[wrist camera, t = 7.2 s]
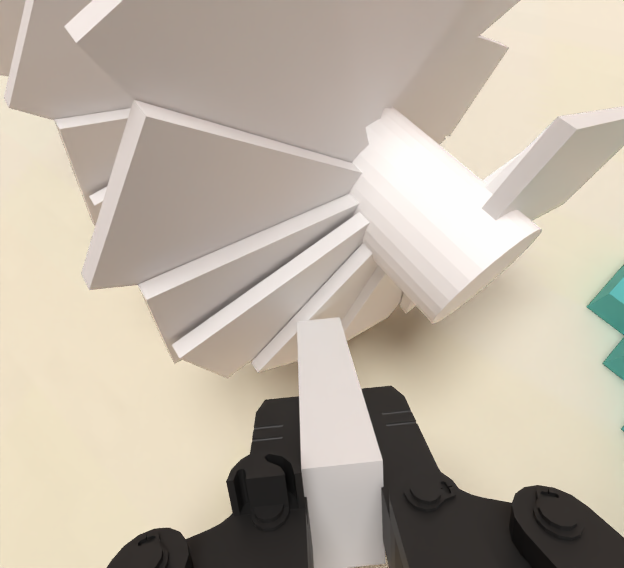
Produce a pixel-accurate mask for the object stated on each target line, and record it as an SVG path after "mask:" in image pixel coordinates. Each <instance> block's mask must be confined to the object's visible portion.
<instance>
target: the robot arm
mask: <svg viewBox="0 0 624 568" xmlns="http://www.w3.org/2000/svg"><path fill="white" fill-rule="evenodd" d="M297 342H298V376H299V396H298V397H289V398H279V399H269V400H265V401H264V402H263V404H262V405H261V407H260V408H259V409H258V411H257V412H256V417H255V424H254V431H253V438H252V445H251V452H250V455H248V456H246V457H245V458H243V459H241V460H240V461H239V462H238V463H237V464H236V465H235V466H234V467H233V468H232V470H231V472H230V474H229V476H228V479H227V481H226V482H227V487H228V492H229V497H230V502H231V507H232V512H233V513H232V514H231V516H230V517H228V518H227V519H226V520H225V521H223V522H222V523H221V524H219V525H217V526H215V527H213V528H211V529H209V530H207V531H205V532H202V533H200V534H197V535H195V536H193V537H190V538H188V539H185V538H184V537H183V535H182V534H181V532H179V531H176V530H174V529H171V528H157V529H153V530H150V531H148V532H145V533H143V534H140V535H138V536H137V537H136V538H134V539H133V540H132V541H130V542H129V543H127V544H126V545H125V546H124V547H123V548H122V549H121V550H120V551H119V552H118V554H117V555H116V556H115V557H114V558H113V559H112V561H111V562H110V564H109V565H108V567H107V568H349V567H350V568H351V567H360V566H369V565H377V564H386V562H385V552H386V556H387V560H388V564H389V568H624V538H623V537H622V536H621V535H620V534H619V533H618V532H617V531H615V530H614V529H613V528H612V527H611V526H610V525H609V524H607V523H606V522H605V521H604V520H603V519H602V518H600V517H599V516H598V515H597V514H596V513H595V512H594V511H592V510H591V509H590V508H589V507H588V506H586V505H585V504H584V503H582V502H581V501H579V500H578V499H576V498H575V497H573V496H572V495H570V494H568V493H565V492H563V491H561V490H558V489H556V488H552V487H546V486H540V485H536V486H529V487H524V488H523V489H521V490H520V491H518V492H517V493H516V494H515V496H514V499H513V502H512V503H509V502H504V501H498V500H493V499H487V498H482V497H478V496H475V495H471V494H469V493H467V492H464V491H462V490H460V489H459V488H458V487H457V486H456V484H455V483H454V482H453V480H451V479H450V478H449V477H447V476H446V475H444V474H443V473H441V472H440V470H439V468H438V467H437V464H436V462H435V460H434V458H433V456H432V454H431V452H430V450H429V448H428V445H427V443H426V441H425V439H424V437H423V435H422V433H421V431H420V429H419V426H418V424H416V420H415V418H414V416H413V414H412V412H411V410H410V408H409V405H408V403H407V401H406V399H405V397H404V396H403V395H402V394H401V393H400V392H398V391H397V390H396V389H395V388H394V387H392V386H384V387H374V388H364V389H361V387H360V383H359V380H358V377H357V373H356V370H355V367H354V363H353V360H352V357H351V353H350V350H349V347H348V343H347V340H346V337H345V334H344V330H343V327H342V324H341V320H340V317H337V318H327V319H317V320H309V321H297Z"/></svg>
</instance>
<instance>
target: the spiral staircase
mask: <svg viewBox="0 0 624 568" xmlns="http://www.w3.org/2000/svg"><path fill="white" fill-rule="evenodd" d="M519 1H520V0H0V75H3V76H9V77H8V82H7V86H6V91H5V95H4V99H5V101H6V103H7V105H8V107H9V108H11V109H15V110H19V111H22V112H26V113H30V114H33V115H37V116H40V117H44V118H48V119H51V120H54V121H55V123H56V126H57V129H58V131H59V134H60V137H61V140H62V142H63V145H64V148H65V150H66V153H67V156H68V158H69V161H70V164H71V166H72V169H73V172H74V174H75V177H76V180H77V182H78V185H79V188H80V191H81V193H82V196H83V199H84V201H85V204H86V207H87V209H88V212H89V215H90V217H91V220H92V222H93V224H94V225H95V229H94V232H93V236H92V239H91V242H90V246H89V249H88V252H87V256H86V259H85V262H84V266H83V269H82V272H81V274H82V276H83V278H84V280H85V283H86V285H87V287H88V289H89V290H93V289H103V288H112V287H122V286H131V285H138V287H139V289H140V291H141V293H142V295H143V298H144V300H145V302H146V304H147V306H148V309H149V311H150V313H151V315H152V317H153V320H154V322H155V324H156V326H157V329H158V331H159V333H160V335H161V337H162V340H163V342H164V344H165V346H166V348H167V351H168V353H169V354H170V356H171V358H172V360H173V362H174V363H177V362H179V361H181V360H184V361H187V362H189V363H192V364H194V365H196V366H199V367H201V368H204V369H206V370H209V371H211V372H213V373H216V374H218V375H221V376H223V377H226V378H229V377H230V376H232V375H233V374H234V373H236V372H237V371H238V370H240V369H241V368H242V367H244V366H245V365H246V364H248V363H249V362H250V361H252V360H253V359H254V360H253V361H252V362H251V363H252V365H253V366H254V368H255V369H256V371H257V372H258V373H259V372H262V371H266V370H269V369H273V368H276V367H280V366H284V365H287V364H291V363H294V362H298V342H297V321H309V320H317V319H327V318H337V317H340V320H341V324H342V327H343V330H344V334H345V337H346V340H347V341H348V340H350V339H352V338H353V337H355V336H357V335H359V334H360V333H362V332H364V331H365V330H367V329H369V328H371V327H372V326H374V325H376V324H377V323H379V322H381V321H383V320H384V319H386V318H388V317H389V316H390V314H391V313H392V312H393V311H394V309H395V308H396V307H397V306H398V305H399V303H400V302H401V303H400V307H401V308H402V310H403V311H404V312H405V313H408V312H409V311H410V310H411V309H413V308H414V307H415V306H416V307H417V308H418V309H419V310H420V311H421V312H422V313H423V314H424V315H425V316H426V317H427V318H428V320H429V321H430V322H431V323H432V324H435V323H437V322H439V321H441V320H443V319H444V318H446V317H447V316H449V315H450V314H451V313H453V312H454V311H456V310H457V309H458V308H460V307H461V306H462V305H463V304H465V303H466V302H467V301H469V300H470V299H471V298H472V297H474V296H475V295H476V294H477V293H479V292H480V291H481V290H482V289H483V288H485V287H486V286H487V285H488V284H489V283H490V282H492V281H493V280H494V279H495V278H496V277H497V276H498V275H500V274H501V273H502V272H503V271H504V270H505V269H506V268H507V267H508V266H509V265H511V264H512V263H513V262H514V261H515V260H516V259H517V258H518V257H519V256H520V255H521V254H522V253H523V252H524V251H525V250H526V249H527V248H528V247H529V246H530V245H531V244H532V243H533V242H534V241H535V239H536V238H537V237H538V236H539V235H540V233H541V231H542V229H541V228H540V227H539V226H537V225H536V224H535V223H534V222H532V221H533V220H534V219H536V218H538V217H540V216H542V215H544V214H546V213H548V212H550V211H551V210H553V209H555V208H557V207H559V206H561V205H563V204H564V203H565V202H566V201H567V200H568V199H569V198H570V197H571V196H572V195H573V194H574V193H576V192H577V191H578V190H579V189H580V188H581V187H582V186H583V185H584V184H585V183H586V182H587V181H588V180H589V179H590V178H591V177H592V176H593V175H594V174H595V173H596V172H597V171H598V170H599V169H600V168H601V167H602V166H603V165H604V164H606V163H607V162H608V161H609V160H610V159H611V158H612V157H613V156H614V155H615V154H616V153H617V152H618V151H619V150H620V149H621V148H622V147H623V146H624V106H622V107H616V108H609V109H603V110H596V111H590V112H583V113H577V114H570V115H564V116H558V117H557V118H556V119H555V120H554V121H553V122H552V123H551V124H550V125H549V126H548V127H547V128H546V129H545V130H544V131H543V132H542V133H541V134H540V135H539V136H537V137H536V138H535V139H534V140H533V141H532V142H531V143H530V144H529V145H528V146H527V147H526V148H525V149H524V150H523V151H522V152H520V153H519V154H518V155H516V156H515V157H513V158H512V159H511V160H509V161H508V162H507V163H505V164H504V165H503V166H501V167H500V168H498V169H497V170H496V171H494V172H493V173H492V174H490V175H489V176H488V177H486V178H485V179H483V180H481V179H480V178H479V177H478V176H477V175H475V174H474V173H473V172H472V171H470V170H469V169H468V168H467V167H466V166H464V165H463V164H462V163H461V162H459V161H458V160H457V159H456V158H455V157H453V156H452V155H451V154H450V153H449V152H447V151H446V150H445V149H444V148H442V147H441V146H440V144H441V143H442V142H443V141H444V140H445V139H446V138H445V136H450V135H451V133H452V132H453V130H454V129H455V127H456V126H457V124H458V123H459V122H460V120H461V119H462V117H463V116H464V114H465V113H466V111H467V110H468V108H469V107H470V105H471V104H472V102H473V101H474V99H475V98H476V96H477V95H478V93H479V92H480V90H481V89H482V87H483V86H484V84H485V83H486V81H487V80H488V78H489V77H490V75H491V74H492V72H493V71H494V69H495V68H496V66H497V65H498V63H499V62H500V60H501V59H502V57H503V56H504V55H505V53H506V52H507V50H508V49H509V48H508V47H507V46H505V45H504V44H502V43H500V42H498V41H495V40H492V39H489V38H486V37H484V36H481V35H480V34H482V33H483V32H484V31H485V30H486V29H487V28H489V27H490V26H491V25H492V24H493V23H494V22H496V21H497V20H498V19H499V18H500V17H501V16H503V15H504V14H505V13H506V12H507V11H508V10H510V9H511V8H512V7H513V6H514V5H515V4H517V3H518V2H519Z"/></svg>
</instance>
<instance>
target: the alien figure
mask: <svg viewBox="0 0 624 568" xmlns="http://www.w3.org/2000/svg"><path fill="white" fill-rule="evenodd" d="M587 308H588V309H590V310H591V311H592V312H594V313H595V314H596V315H598V316H599V317H600V318H602V319H603V320H604V321H606V322H607V323H608V324H610V325H611V326H612V327H614V328H615V329H616V330H618V331H619V332H620V333H622V334H623V335H624V265H623V266H622V267H621V268H620V270H619V271H618V272H617V273H616V274H615V275H614V276H613V277H612V279H611V280H610V281H609V282H608V283H607V284H606V285H605V287H604V288H603V289H602V290H601V291H600V292H599V293H598V294H597V296H596V297H595V298H594V299H593V300H592V301H591V302H590V304H589V305H588V306H587ZM603 364H604V365H605V366H606V367H607V368H609V369H610V370H611V371H612V372H614V373H615V374H616V375H617V376H619V377H620V378H621V379H622V380H624V338H623V339H622V340H621V341H620V343H619V344H618V345H617V346H616V347H615V349H614V350H613V351H612V352H611V354H610V355H609V356H608V357H607V359H606V360H605V361H604V362H603ZM621 429H622V430H623V431H624V426H623V427H622V428H621Z"/></svg>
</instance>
